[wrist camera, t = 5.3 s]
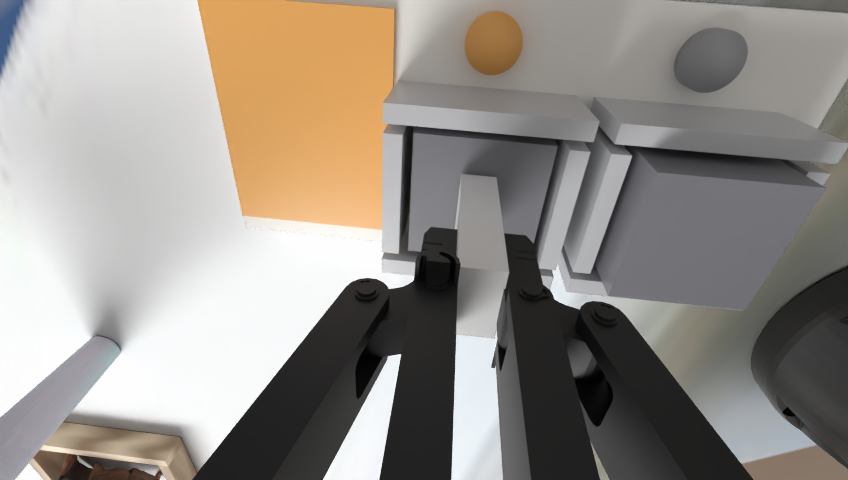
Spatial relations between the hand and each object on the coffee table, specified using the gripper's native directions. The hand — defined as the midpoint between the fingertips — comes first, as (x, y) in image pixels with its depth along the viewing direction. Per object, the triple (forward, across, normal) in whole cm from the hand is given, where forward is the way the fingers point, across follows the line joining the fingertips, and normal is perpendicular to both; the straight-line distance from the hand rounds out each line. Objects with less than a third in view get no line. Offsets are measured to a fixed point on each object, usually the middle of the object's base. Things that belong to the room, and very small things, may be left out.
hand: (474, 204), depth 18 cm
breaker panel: (+6, -1, -1) cm, 6 cm away
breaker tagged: (+4, 0, 0) cm, 4 cm away
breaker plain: (+2, -9, 0) cm, 9 cm away
